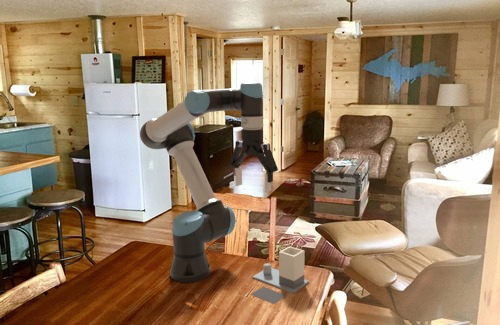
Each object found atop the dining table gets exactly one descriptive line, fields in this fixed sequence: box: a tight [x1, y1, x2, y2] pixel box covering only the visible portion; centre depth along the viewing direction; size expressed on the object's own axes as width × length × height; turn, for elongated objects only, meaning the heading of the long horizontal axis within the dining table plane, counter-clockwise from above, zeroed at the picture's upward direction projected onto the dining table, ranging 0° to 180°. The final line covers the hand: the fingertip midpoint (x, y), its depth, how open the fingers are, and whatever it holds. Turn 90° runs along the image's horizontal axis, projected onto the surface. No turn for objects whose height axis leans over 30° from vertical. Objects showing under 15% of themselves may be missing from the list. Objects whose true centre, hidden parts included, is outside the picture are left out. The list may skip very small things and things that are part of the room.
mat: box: [250, 286, 287, 305], centre depth 141 cm, size 10×7×1 cm
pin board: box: [252, 262, 310, 294], centre depth 151 cm, size 18×10×5 cm, turn 50°
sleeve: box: [278, 246, 306, 289], centre depth 147 cm, size 6×6×12 cm
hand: (253, 188), depth 147 cm, fingers open, 13 cm apart
